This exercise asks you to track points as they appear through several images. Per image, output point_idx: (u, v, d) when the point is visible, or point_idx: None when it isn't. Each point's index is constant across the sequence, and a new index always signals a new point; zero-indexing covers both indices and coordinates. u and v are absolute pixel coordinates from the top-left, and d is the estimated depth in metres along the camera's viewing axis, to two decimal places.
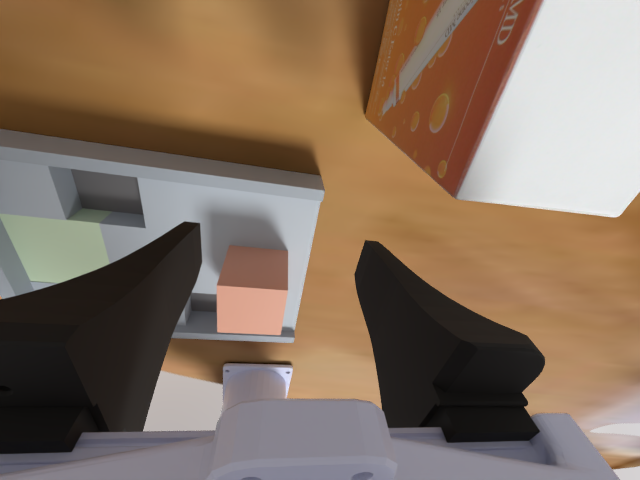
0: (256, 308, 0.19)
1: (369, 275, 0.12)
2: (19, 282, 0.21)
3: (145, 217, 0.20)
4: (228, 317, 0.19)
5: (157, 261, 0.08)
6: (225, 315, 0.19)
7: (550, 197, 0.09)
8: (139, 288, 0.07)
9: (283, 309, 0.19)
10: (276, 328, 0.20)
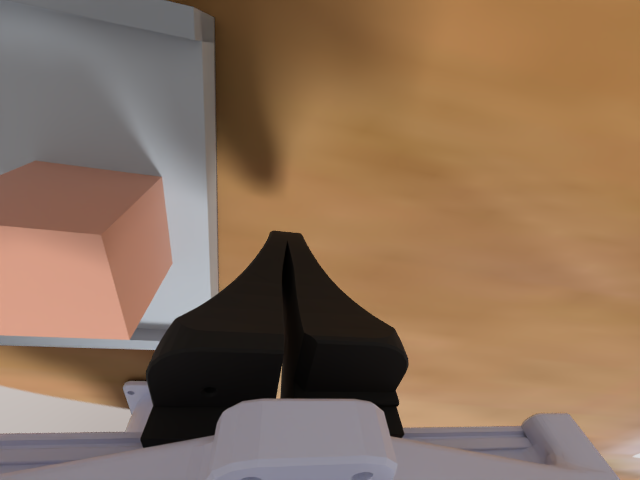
0: (43, 280, 0.08)
1: (285, 268, 0.11)
2: None
3: None
4: None
5: (279, 271, 0.09)
6: None
7: None
8: (281, 297, 0.08)
9: (111, 283, 0.09)
10: (114, 326, 0.10)
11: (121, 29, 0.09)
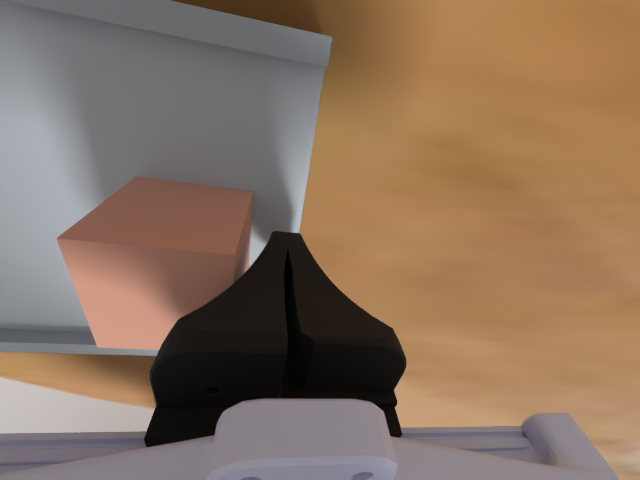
0: (168, 297, 0.09)
1: None
2: None
3: None
4: (111, 316, 0.09)
5: (281, 271, 0.09)
6: (103, 311, 0.09)
7: None
8: None
9: None
10: None
11: (253, 56, 0.09)
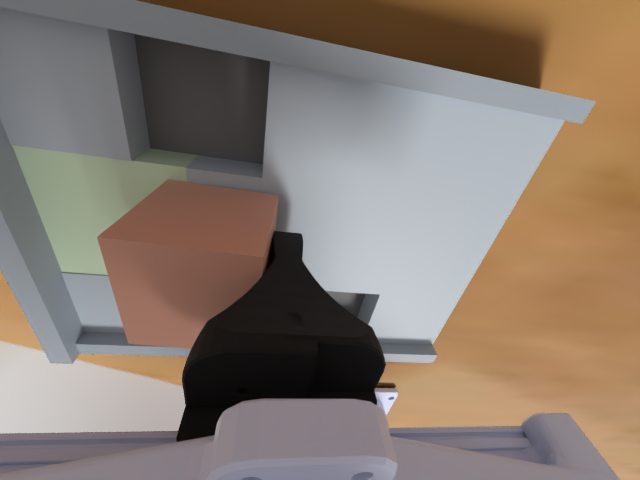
0: (197, 296, 0.09)
1: None
2: (45, 272, 0.12)
3: (266, 157, 0.11)
4: (143, 313, 0.09)
5: (299, 272, 0.09)
6: (136, 309, 0.09)
7: None
8: None
9: None
10: None
11: (513, 113, 0.11)
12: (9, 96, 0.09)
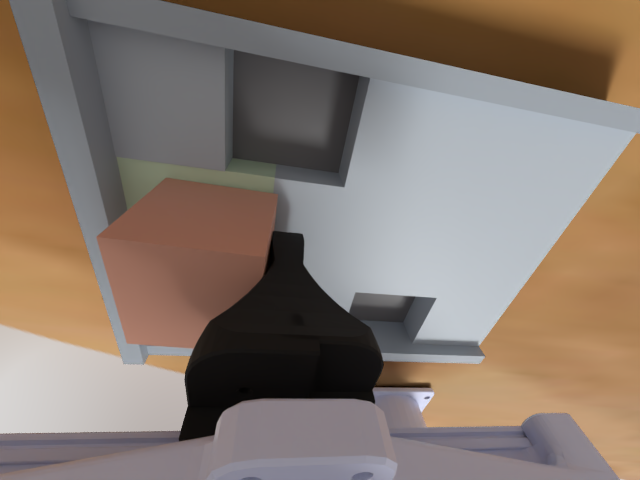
0: (198, 297, 0.09)
1: (270, 267, 0.11)
2: None
3: (351, 167, 0.12)
4: (142, 314, 0.09)
5: (300, 273, 0.09)
6: (135, 309, 0.09)
7: None
8: None
9: None
10: None
11: (589, 126, 0.12)
12: (122, 111, 0.10)
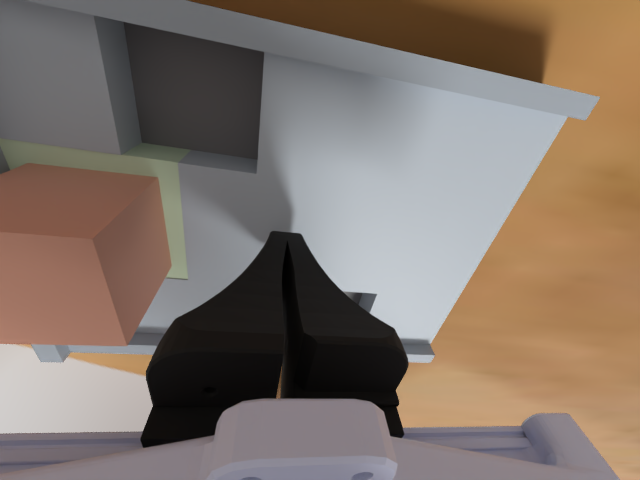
0: (35, 287, 0.08)
1: (285, 268, 0.11)
2: None
3: (260, 152, 0.11)
4: None
5: (279, 271, 0.09)
6: None
7: None
8: (281, 297, 0.08)
9: (105, 288, 0.08)
10: (110, 332, 0.09)
11: (515, 109, 0.11)
12: None
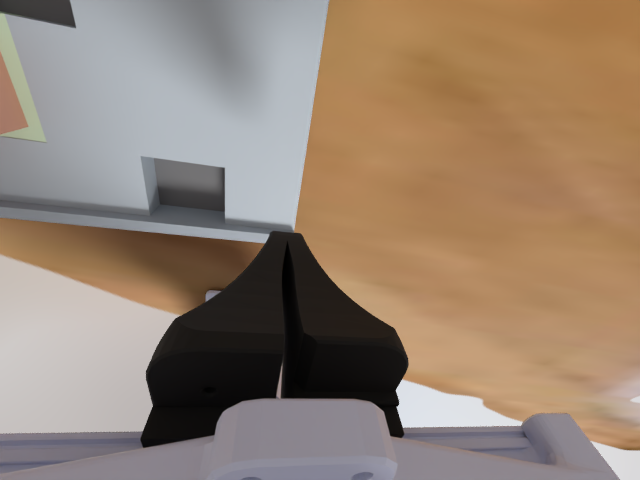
0: None
1: (285, 268, 0.11)
2: None
3: (73, 5, 0.13)
4: None
5: (279, 271, 0.09)
6: None
7: None
8: (281, 297, 0.08)
9: None
10: None
11: None
12: None
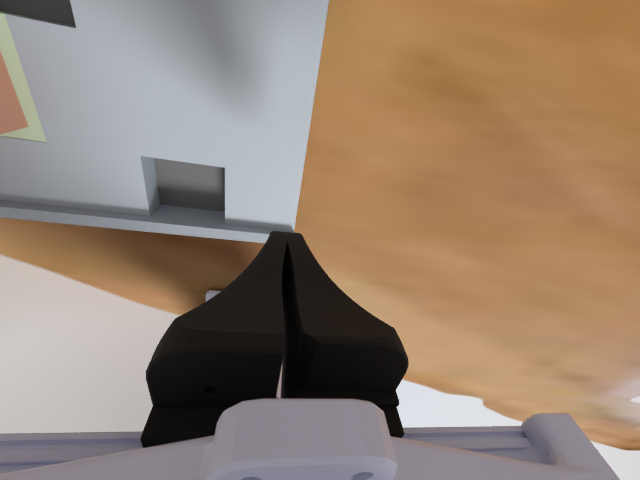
0: None
1: (285, 268, 0.11)
2: None
3: (73, 5, 0.13)
4: None
5: (279, 271, 0.09)
6: None
7: None
8: (281, 297, 0.08)
9: None
10: None
11: None
12: None
